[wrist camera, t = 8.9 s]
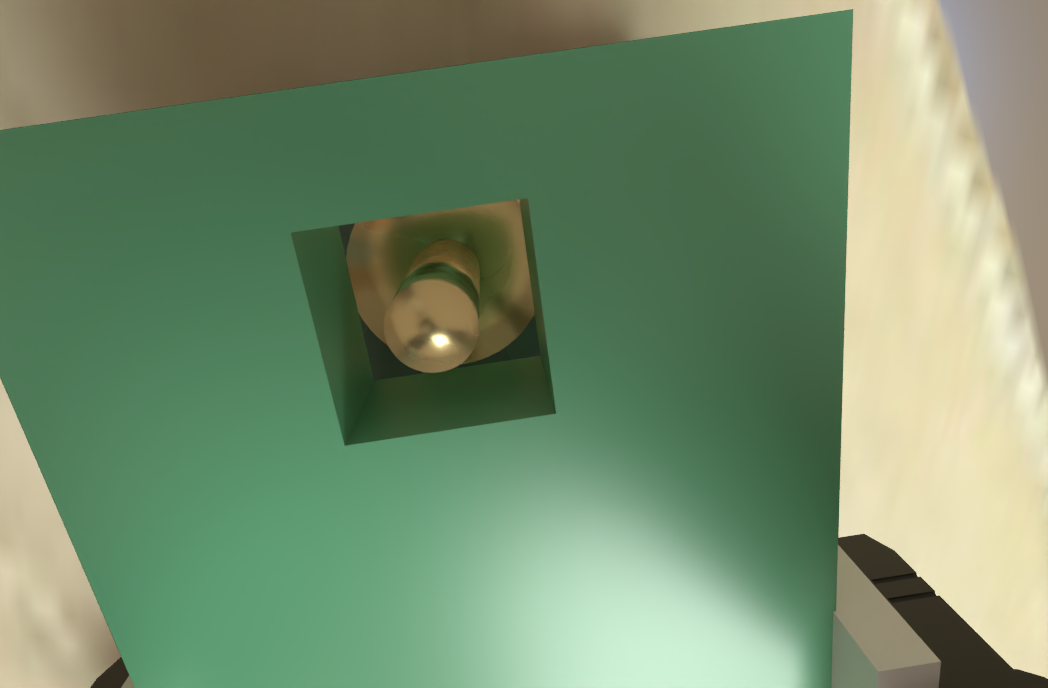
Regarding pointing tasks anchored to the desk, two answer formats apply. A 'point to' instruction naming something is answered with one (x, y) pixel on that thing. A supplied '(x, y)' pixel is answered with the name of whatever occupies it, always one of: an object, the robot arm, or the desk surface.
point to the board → (452, 372)
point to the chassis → (442, 289)
